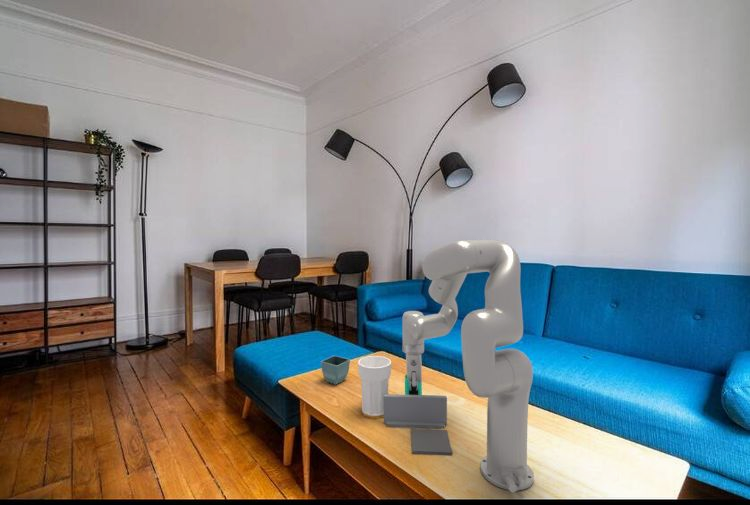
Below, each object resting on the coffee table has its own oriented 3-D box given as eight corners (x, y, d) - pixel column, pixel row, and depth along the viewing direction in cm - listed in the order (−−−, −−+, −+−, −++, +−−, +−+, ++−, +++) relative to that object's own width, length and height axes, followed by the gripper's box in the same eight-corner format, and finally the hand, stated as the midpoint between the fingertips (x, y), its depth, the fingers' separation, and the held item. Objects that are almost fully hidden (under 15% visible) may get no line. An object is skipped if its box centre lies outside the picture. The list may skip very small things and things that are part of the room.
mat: (452, 455, 96) (452, 452, 96) (411, 453, 97) (411, 450, 97) (446, 432, 107) (446, 429, 107) (410, 431, 108) (410, 428, 108)
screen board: (447, 428, 109) (447, 400, 108) (383, 426, 110) (383, 398, 110) (445, 420, 114) (445, 393, 113) (384, 418, 115) (383, 391, 115)
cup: (351, 411, 120) (351, 362, 119) (374, 400, 128) (373, 353, 127) (375, 424, 112) (375, 370, 111) (398, 410, 120) (398, 361, 119)
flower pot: (350, 380, 146) (350, 359, 145) (337, 388, 138) (337, 365, 138) (334, 375, 150) (334, 355, 150) (320, 383, 143) (320, 361, 142)
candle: (421, 410, 121) (421, 375, 120) (403, 408, 122) (403, 374, 121) (422, 401, 126) (422, 369, 126) (405, 400, 128) (405, 368, 127)
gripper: (425, 355, 114) (425, 409, 115) (422, 339, 131) (422, 387, 132) (402, 355, 115) (402, 409, 116) (402, 339, 132) (402, 386, 133)
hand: (413, 396), depth 124 cm, fingers closed on candle, 4 cm apart
